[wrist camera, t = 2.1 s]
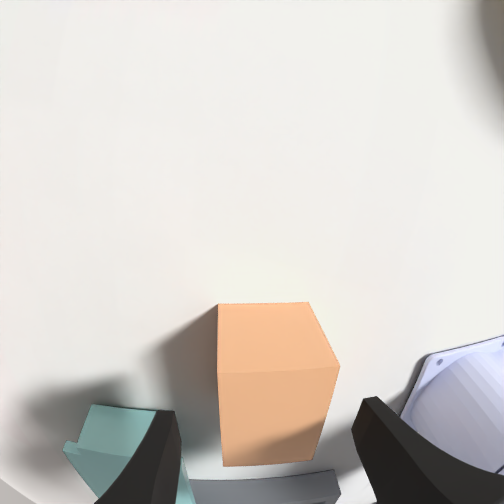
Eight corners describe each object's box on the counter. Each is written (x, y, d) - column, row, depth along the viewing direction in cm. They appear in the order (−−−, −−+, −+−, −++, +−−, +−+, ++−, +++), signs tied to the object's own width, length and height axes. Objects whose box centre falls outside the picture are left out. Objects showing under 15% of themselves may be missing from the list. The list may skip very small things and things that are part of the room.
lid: (183, 412, 15) (179, 461, 12) (201, 496, 19) (202, 529, 16) (74, 401, 15) (57, 442, 11) (123, 489, 19) (118, 520, 15)
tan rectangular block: (307, 300, 14) (340, 366, 9) (294, 394, 16) (312, 459, 12) (218, 302, 13) (217, 372, 9) (221, 397, 15) (223, 466, 11)
